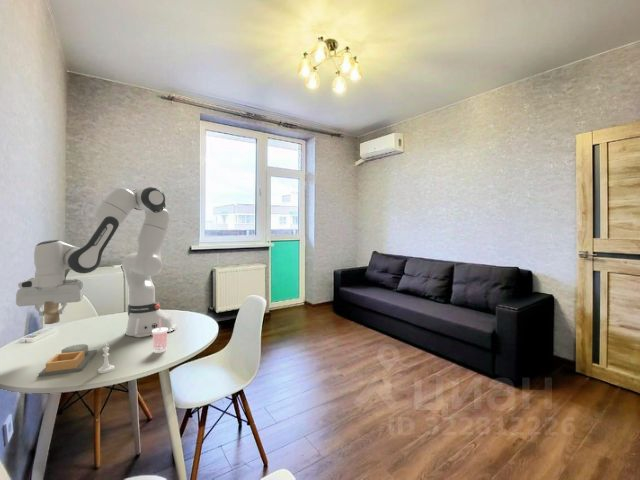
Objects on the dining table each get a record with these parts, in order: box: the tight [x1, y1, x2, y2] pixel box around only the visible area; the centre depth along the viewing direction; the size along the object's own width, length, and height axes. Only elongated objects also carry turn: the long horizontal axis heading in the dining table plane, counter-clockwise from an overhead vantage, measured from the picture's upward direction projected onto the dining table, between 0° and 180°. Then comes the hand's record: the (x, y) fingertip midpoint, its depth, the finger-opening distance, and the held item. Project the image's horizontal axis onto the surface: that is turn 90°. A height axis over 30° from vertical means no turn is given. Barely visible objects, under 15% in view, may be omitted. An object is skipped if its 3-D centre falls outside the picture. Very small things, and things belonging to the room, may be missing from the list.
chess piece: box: [97, 342, 115, 374], centre depth 106 cm, size 5×5×10 cm
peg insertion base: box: [38, 343, 98, 378], centre depth 111 cm, size 12×17×4 cm
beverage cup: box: [152, 318, 168, 354], centre depth 123 cm, size 6×6×14 cm
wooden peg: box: [43, 301, 61, 325], centre depth 117 cm, size 4×4×9 cm
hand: (51, 314), depth 117 cm, fingers closed on wooden peg, 4 cm apart
